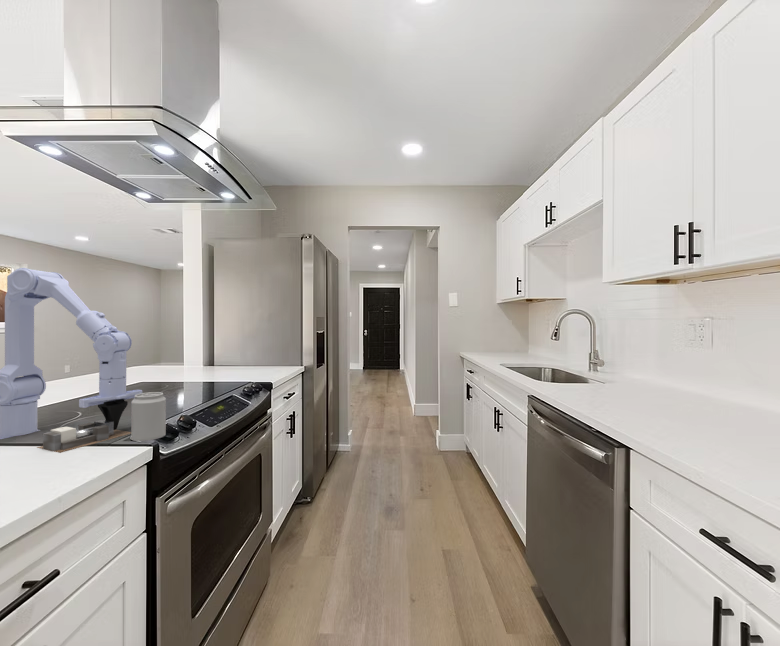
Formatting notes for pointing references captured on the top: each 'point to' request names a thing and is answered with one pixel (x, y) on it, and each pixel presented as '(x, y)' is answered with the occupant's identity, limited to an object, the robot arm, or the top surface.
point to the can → (148, 416)
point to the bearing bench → (98, 435)
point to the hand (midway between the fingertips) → (112, 429)
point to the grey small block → (97, 423)
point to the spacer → (65, 433)
